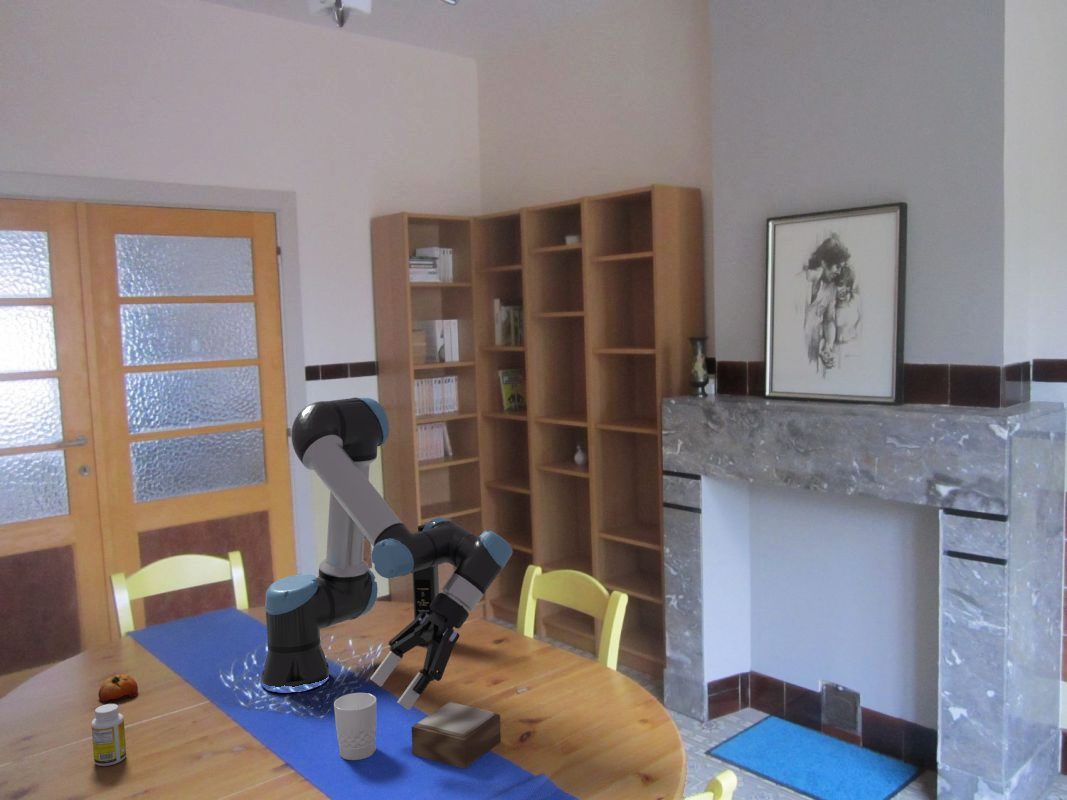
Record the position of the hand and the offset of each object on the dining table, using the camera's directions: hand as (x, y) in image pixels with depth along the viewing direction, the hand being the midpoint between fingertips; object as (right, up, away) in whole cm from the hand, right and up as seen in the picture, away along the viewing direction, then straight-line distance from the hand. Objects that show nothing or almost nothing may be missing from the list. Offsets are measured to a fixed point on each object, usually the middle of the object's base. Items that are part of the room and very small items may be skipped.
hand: (388, 694), depth 170 cm
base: (+13, -10, -1) cm, 17 cm away
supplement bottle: (-52, -12, -2) cm, 54 cm away
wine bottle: (+1, -6, +57) cm, 58 cm away
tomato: (-65, -10, +29) cm, 72 cm away
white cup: (-6, -11, -1) cm, 12 cm away
